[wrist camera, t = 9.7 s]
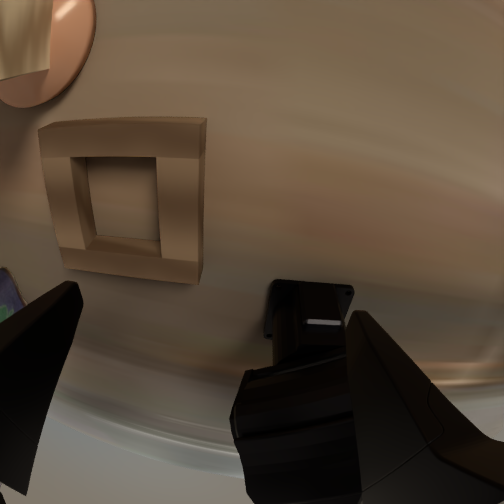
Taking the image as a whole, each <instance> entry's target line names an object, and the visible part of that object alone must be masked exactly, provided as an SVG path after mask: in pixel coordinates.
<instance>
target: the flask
mask: <svg viewBox="0 0 504 504" xmlns="http://www.w3.org/2000/svg"><path fill="white" fill-rule="evenodd" d="M17 285H18V284H17V283H16V282H15V279H14V276H13V274H11V272H10V271H9V270H8V269H7V267H6V268H4V267H1V268H0V323H1V322H2V321H4V320H5V319H7V318H8V317H10V316H11V315H13V314H14V313H16V312H17V311H19V310H20V309H22V308H23V307H25V306H26V305H28V304H27V302H26V301H25V300H24V299H23V297H22V296H21V294H22V293H21V291H20V290H19V289H18V286H17Z"/></svg>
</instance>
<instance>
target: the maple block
mask: <svg viewBox="0 0 504 504" xmlns="http://www.w3.org/2000/svg"><path fill="white" fill-rule="evenodd" d="M52 9H53V0H0V81H4V80H8V79H11V78H15V77H18V76H22V75H26V74H30V73H34V72H38V71H42V70H46V69H50V37H51V21H52Z"/></svg>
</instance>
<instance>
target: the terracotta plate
mask: <svg viewBox="0 0 504 504" xmlns="http://www.w3.org/2000/svg"><path fill="white" fill-rule="evenodd" d="M95 29H96V9H95V4H94V0H53V9H52V21H51V37H50V69H46V70H42V71H38V72H34V73H30V74H26V75H22V76H18V77H15V78H11V79H8V80H4V81H0V99H1V100H2V101H3V102H5V103H6V104H8V105H10V106H14V107H18V108H27V107H32V106H36V105H39V104H42V103H44V102H47V101H49V100H51V99H53V98H55V97H56V96H58V95H59V94H60V93H62V92H63V91H64V90H65V89H66V88H67V87H68V86H69V85H70V84H71V83H72V82H73V80H74V79H75V78H76V77H77V75H78V74H79V72H80V71H81V69H82V67H83V65H84V64H85V62H86V60H87V57H88V55H89V53H90V50H91V47H92V44H93V40H94V35H95Z"/></svg>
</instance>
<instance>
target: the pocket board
mask: <svg viewBox="0 0 504 504" xmlns="http://www.w3.org/2000/svg"><path fill="white" fill-rule="evenodd" d="M206 122H207V118H194V117H119V118H99V119H84V120H72V121H61V122H54V123H51V124H49V125H47V126H45V127H43V128H40V129H38V137H39V146H40V154H41V161H42V168H43V174H44V180H45V186H46V191H47V196H48V201H49V206H50V211H51V216H52V220H53V224H54V228H55V233H56V237H57V241H58V244H59V248H60V252H61V255H62V259H63V262H64V266H65V268H70V269H77V270H84V271H91V272H98V273H105V274H113V275H120V276H128V277H136V278H144V279H152V280H160V281H169V282H177V283H186V284H195V285H199V281H200V277H201V273H202V270H203V210H204V170H205V144H206ZM95 156H126V157H156V167H157V194H158V212H159V228H160V241H153V240H143V239H132V238H121V237H111V236H100V235H97V234H96V229H95V223H94V217H93V211H92V205H91V198H90V191H89V183H88V175H87V167H86V157H95Z"/></svg>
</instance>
